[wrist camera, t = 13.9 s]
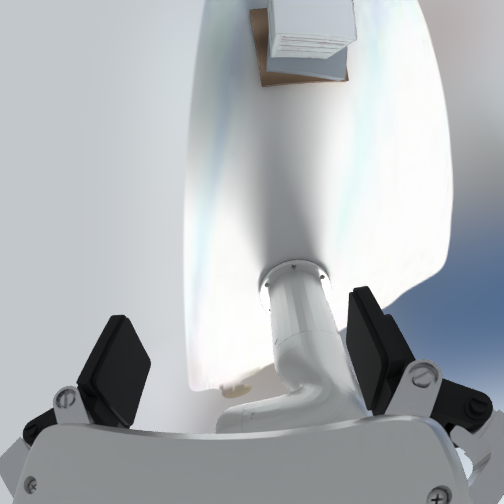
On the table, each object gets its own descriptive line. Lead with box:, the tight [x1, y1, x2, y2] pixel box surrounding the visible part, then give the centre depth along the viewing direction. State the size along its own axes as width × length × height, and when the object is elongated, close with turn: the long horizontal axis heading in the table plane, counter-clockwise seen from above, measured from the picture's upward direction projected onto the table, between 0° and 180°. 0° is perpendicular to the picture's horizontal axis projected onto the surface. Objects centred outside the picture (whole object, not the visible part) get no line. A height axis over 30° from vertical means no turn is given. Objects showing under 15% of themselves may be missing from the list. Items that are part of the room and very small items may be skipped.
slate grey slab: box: [266, 35, 347, 81], centre depth 29 cm, size 10×10×3 cm
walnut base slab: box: [250, 8, 349, 87], centre depth 32 cm, size 12×12×3 cm
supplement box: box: [267, 0, 357, 59], centre depth 22 cm, size 7×7×13 cm
